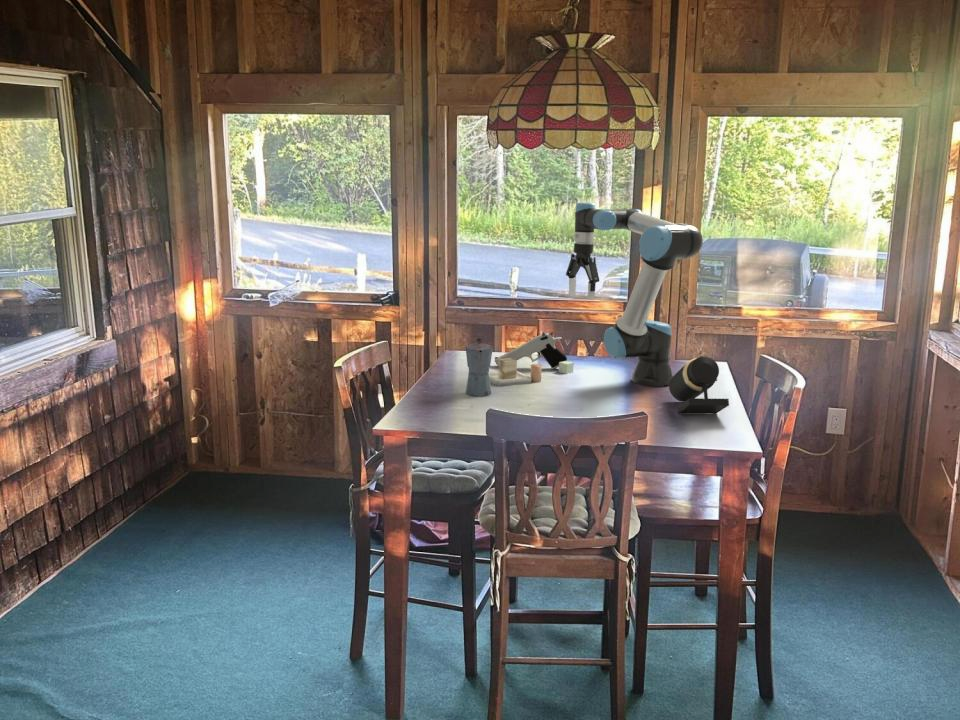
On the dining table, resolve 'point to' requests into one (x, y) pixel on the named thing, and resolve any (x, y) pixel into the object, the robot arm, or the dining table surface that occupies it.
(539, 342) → the handgun
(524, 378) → the tray
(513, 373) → the birch block
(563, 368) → the sage block
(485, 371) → the moka pot
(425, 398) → the dining table surface
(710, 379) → the light fixture
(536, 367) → the peach capsule
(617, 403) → the dining table surface
